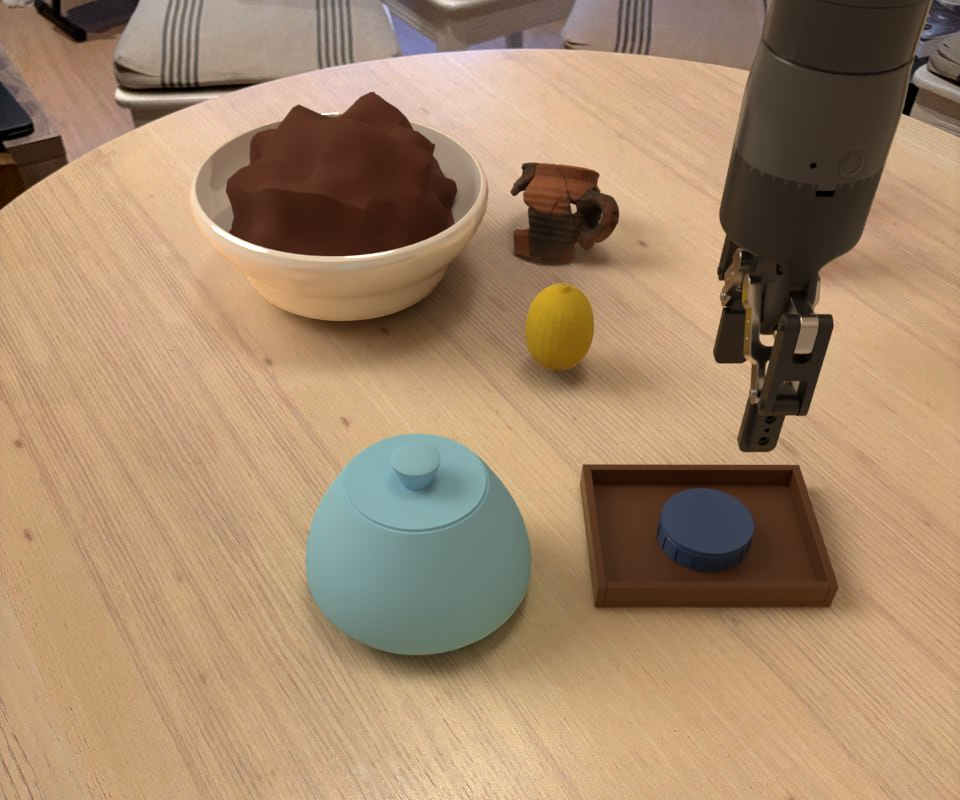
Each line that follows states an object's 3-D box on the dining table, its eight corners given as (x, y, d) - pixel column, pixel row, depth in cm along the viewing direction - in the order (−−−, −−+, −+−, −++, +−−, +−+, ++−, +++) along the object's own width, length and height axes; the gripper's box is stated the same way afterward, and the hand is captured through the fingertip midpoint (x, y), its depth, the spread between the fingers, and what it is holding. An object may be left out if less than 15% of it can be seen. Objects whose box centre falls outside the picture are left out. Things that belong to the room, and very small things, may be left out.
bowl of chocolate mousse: (158, 331, 87) (113, 156, 76) (279, 191, 102) (256, 27, 91) (434, 390, 83) (431, 215, 71) (518, 236, 98) (527, 70, 86)
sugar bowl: (570, 617, 69) (588, 490, 59) (369, 705, 64) (355, 582, 55) (462, 483, 76) (463, 353, 67) (275, 552, 72) (250, 422, 63)
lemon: (601, 371, 85) (613, 286, 79) (556, 399, 83) (565, 313, 77) (553, 342, 88) (561, 257, 82) (508, 368, 85) (513, 283, 79)
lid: (651, 563, 71) (656, 544, 70) (661, 500, 75) (666, 481, 74) (745, 579, 70) (752, 561, 69) (751, 515, 74) (757, 496, 73)
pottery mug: (483, 252, 97) (493, 157, 94) (540, 258, 104) (551, 171, 101) (588, 265, 91) (602, 164, 88) (641, 271, 98) (656, 178, 95)
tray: (792, 484, 77) (799, 464, 76) (830, 606, 70) (839, 587, 68) (579, 484, 77) (582, 463, 75) (594, 607, 69) (598, 587, 68)
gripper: (712, 77, 55) (665, 335, 68) (765, 216, 46) (699, 482, 59) (850, 78, 55) (777, 334, 68) (929, 215, 46) (828, 481, 59)
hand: (741, 402), depth 63 cm, fingers open, 8 cm apart
